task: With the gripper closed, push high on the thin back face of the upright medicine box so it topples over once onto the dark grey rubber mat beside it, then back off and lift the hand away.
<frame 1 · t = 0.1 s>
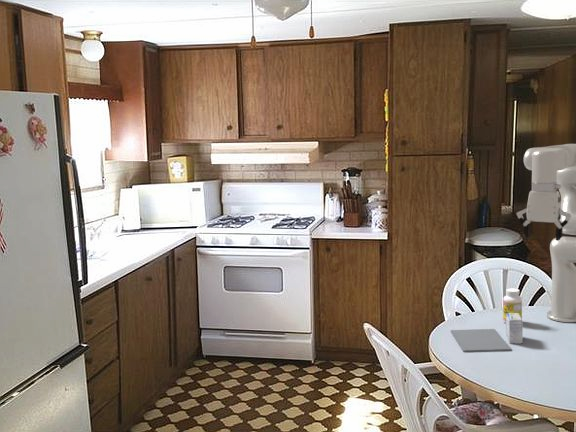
hand: (542, 238, 205), 37 cm above the table, tool pointing down, fingers open, 9 cm apart
medicine box: (514, 340, 216), on the table
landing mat: (479, 340, 217), on the table
supplement bottle: (512, 323, 233), on the table
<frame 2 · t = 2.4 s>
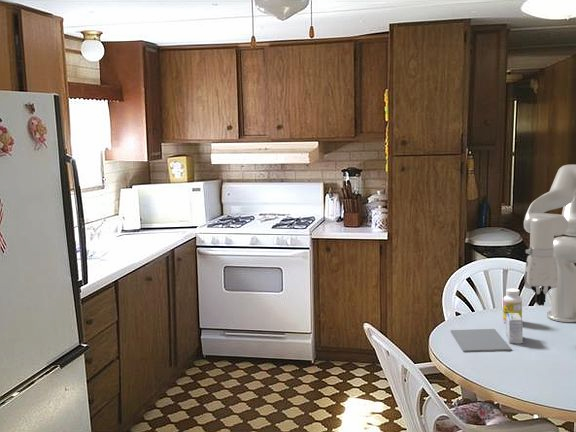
hand: (540, 304, 213), 13 cm above the table, tool pointing down, fingers closed
nothing on the table moved.
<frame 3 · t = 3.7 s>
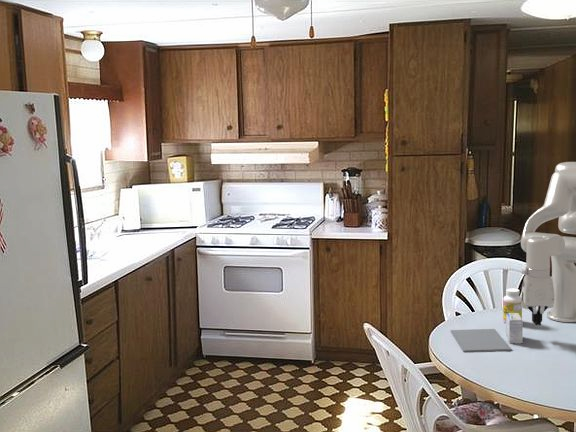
hand: (536, 323, 215), 6 cm above the table, tool pointing down, fingers closed
nothing on the table moved.
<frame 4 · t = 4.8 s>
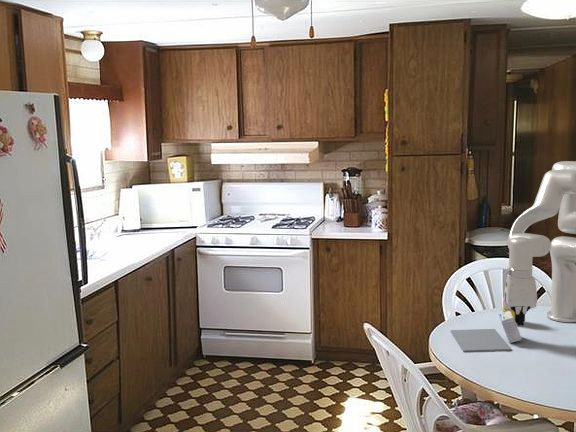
hand: (519, 324, 215), 6 cm above the table, tool pointing down, fingers closed
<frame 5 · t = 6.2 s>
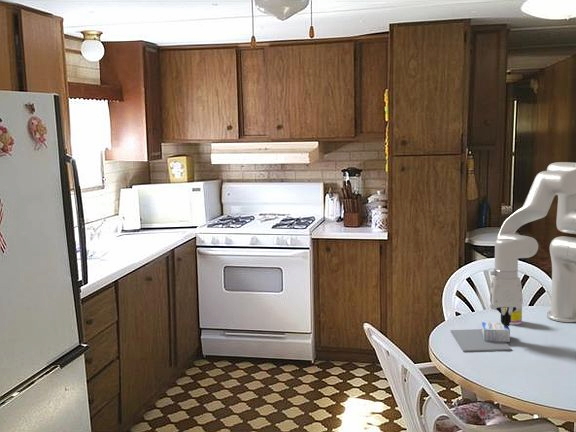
hand: (505, 324, 215), 6 cm above the table, tool pointing down, fingers closed
medicine box: (508, 332, 216), point 3 cm above the table, touching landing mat
everything else where it was.
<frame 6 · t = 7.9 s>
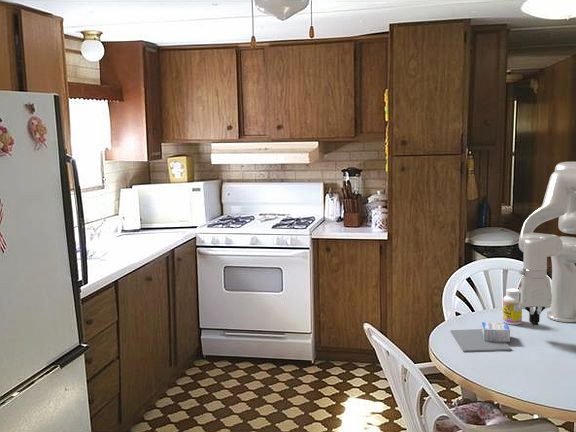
hand: (534, 324, 215), 5 cm above the table, tool pointing down, fingers closed
nothing on the table moved.
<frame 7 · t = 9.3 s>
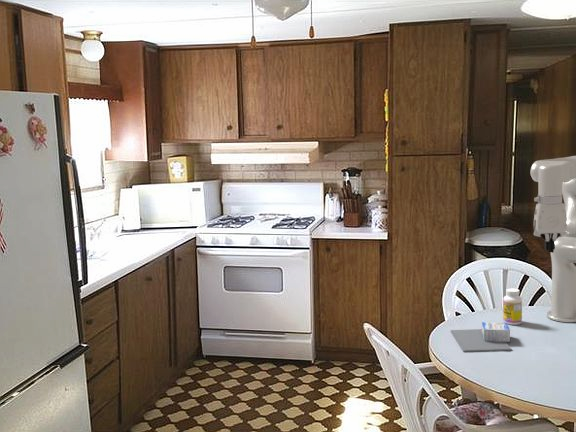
hand: (549, 251, 214), 30 cm above the table, tool pointing down, fingers closed
nothing on the table moved.
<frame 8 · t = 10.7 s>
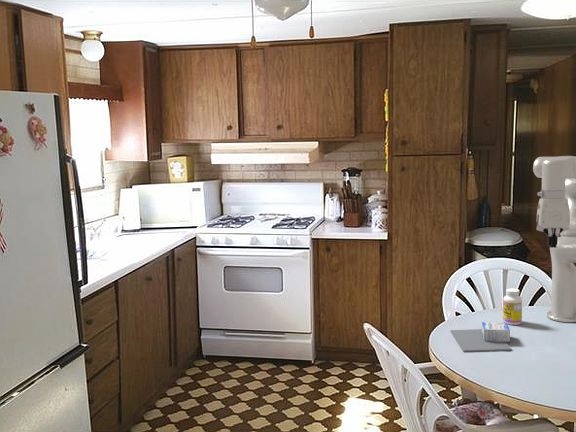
hand: (552, 246, 214), 32 cm above the table, tool pointing down, fingers closed
nothing on the table moved.
at the end: medicine box tilted 89°; medicine box touching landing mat; medicine box inside the target area (1.8 cm from its centre), point 2.7 cm above the table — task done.
